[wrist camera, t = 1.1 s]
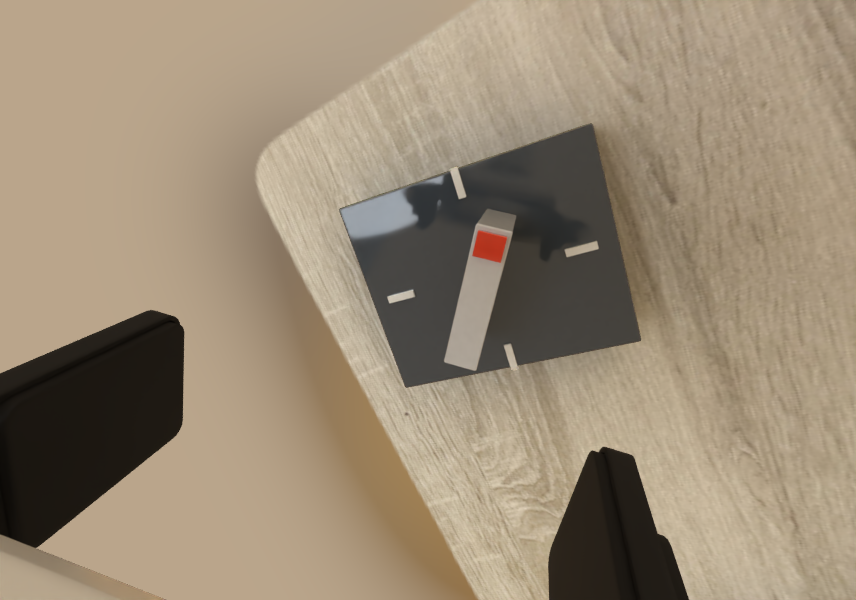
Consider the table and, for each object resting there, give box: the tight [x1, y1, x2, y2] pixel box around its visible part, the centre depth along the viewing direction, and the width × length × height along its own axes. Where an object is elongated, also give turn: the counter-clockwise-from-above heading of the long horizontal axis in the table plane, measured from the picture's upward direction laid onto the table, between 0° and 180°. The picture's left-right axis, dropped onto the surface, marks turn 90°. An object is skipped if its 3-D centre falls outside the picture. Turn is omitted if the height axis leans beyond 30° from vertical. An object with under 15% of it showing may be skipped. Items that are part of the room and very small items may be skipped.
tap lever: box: [444, 209, 517, 371], centre depth 20 cm, size 6×1×4 cm, turn 169°
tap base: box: [339, 123, 641, 388], centre depth 23 cm, size 12×10×3 cm
